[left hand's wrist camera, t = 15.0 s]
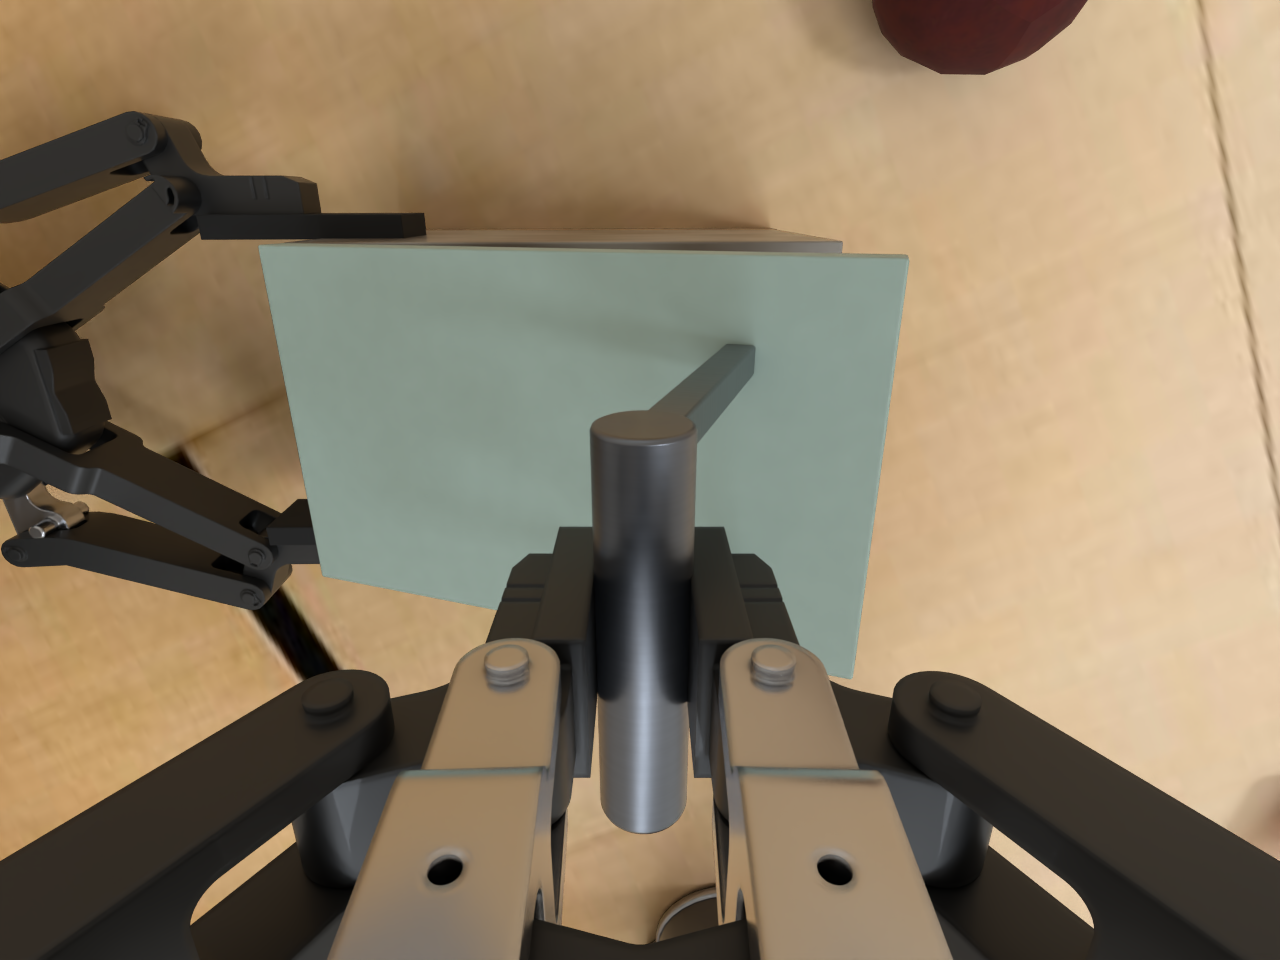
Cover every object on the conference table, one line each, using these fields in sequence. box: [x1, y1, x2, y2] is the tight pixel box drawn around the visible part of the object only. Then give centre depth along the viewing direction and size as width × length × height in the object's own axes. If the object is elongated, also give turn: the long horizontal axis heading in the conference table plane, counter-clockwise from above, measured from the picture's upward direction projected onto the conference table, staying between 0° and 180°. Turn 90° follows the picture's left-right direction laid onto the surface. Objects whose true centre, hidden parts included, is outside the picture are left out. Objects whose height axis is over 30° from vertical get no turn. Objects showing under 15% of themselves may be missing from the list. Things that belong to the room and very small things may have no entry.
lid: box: [258, 243, 909, 834], centre depth 15 cm, size 17×10×9 cm, turn 92°
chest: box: [286, 228, 843, 253], centre depth 27 cm, size 16×10×11 cm, turn 90°
